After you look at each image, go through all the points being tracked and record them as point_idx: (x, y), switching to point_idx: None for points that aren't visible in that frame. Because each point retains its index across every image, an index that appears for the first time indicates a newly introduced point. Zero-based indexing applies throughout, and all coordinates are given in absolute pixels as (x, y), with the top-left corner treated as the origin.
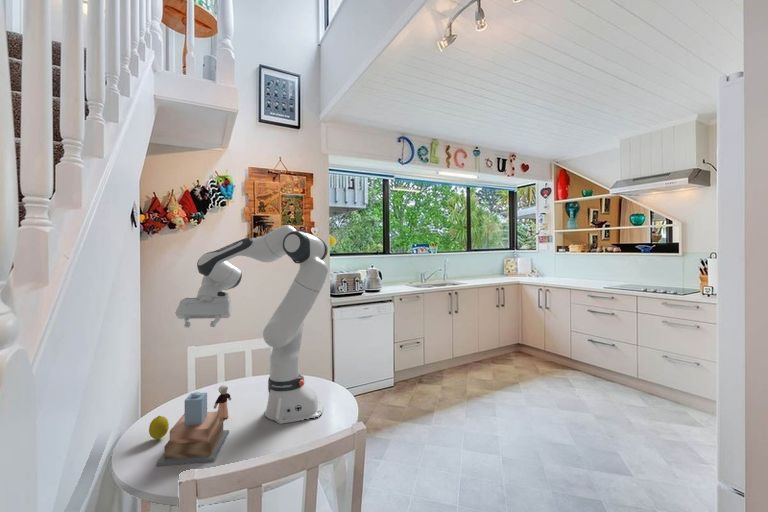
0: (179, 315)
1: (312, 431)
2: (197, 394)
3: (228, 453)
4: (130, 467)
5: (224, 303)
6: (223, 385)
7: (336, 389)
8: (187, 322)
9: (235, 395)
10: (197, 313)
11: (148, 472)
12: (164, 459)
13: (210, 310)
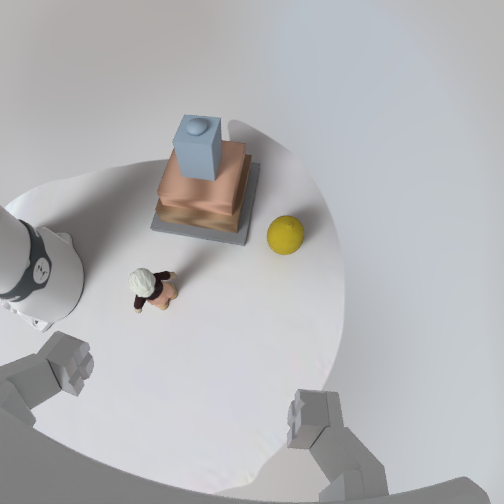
0: (434, 487)
1: (40, 199)
2: (193, 121)
3: (156, 169)
4: (297, 175)
5: None
6: (138, 275)
7: None
8: (317, 416)
9: (144, 417)
10: (208, 502)
11: (266, 157)
12: (250, 168)
13: (16, 472)
